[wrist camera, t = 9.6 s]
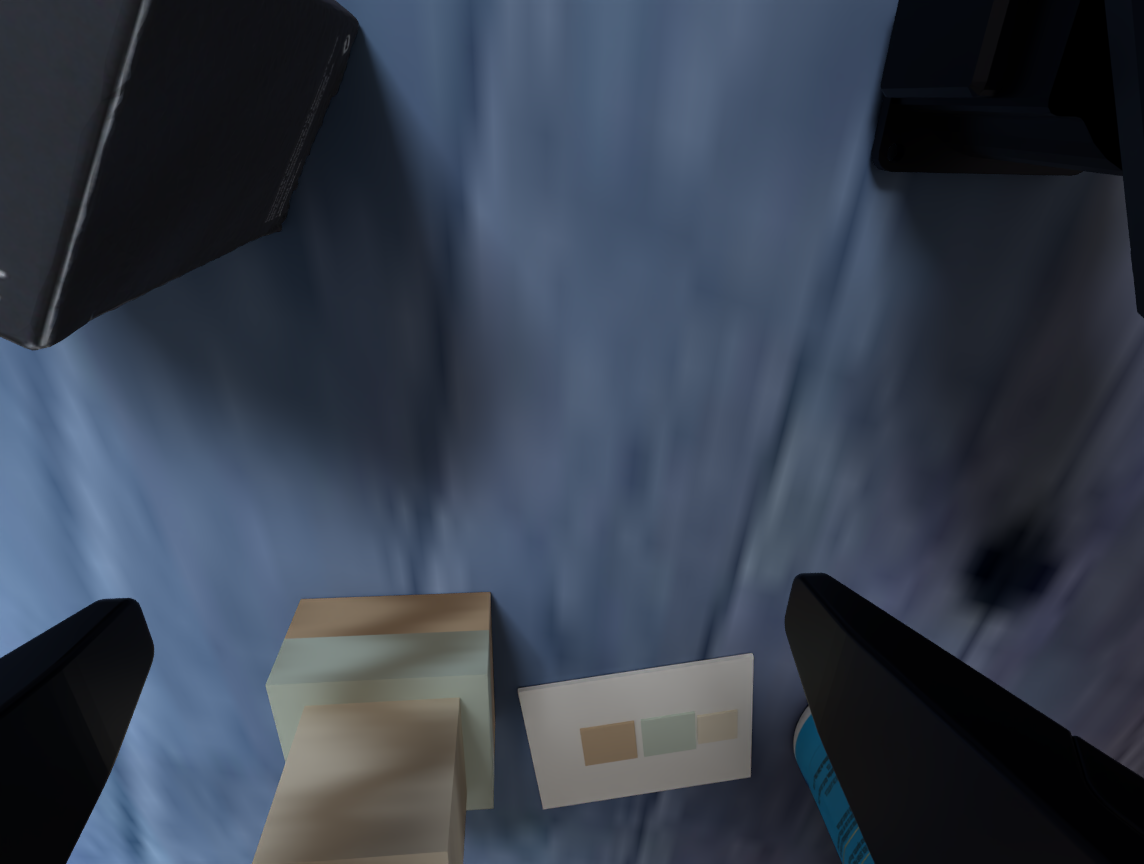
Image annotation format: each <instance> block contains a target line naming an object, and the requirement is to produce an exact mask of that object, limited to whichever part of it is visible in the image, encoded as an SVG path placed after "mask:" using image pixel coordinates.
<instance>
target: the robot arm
mask: <svg viewBox="0 0 1144 864" xmlns="http://www.w3.org/2000/svg"><path fill="white" fill-rule="evenodd" d="M881 89H882V91H883V94H884V97H883V102H882V107H881V111H880V116H879V120H878V125H877V130H876V134H875V139H874V143H873V148H872V161H873V164H874V165H875V166H876V167H877V168H878V169H881V170H885V171H890V172H927V173H973V174H1020V175H1066V176H1072V175H1077V174H1079V173H1081V172H1083V171H1087V172H1095V173H1103V174H1111V175H1119V176H1123V181H1124V191H1125V200H1126V210H1127V219H1128V229H1129V238H1130V248H1131V261H1132V271H1133V276H1134V286H1135V295H1136V305H1137V312H1138V313H1139V314H1140V315H1141V316H1142V317H1143V318H1144V0H899V2H898V7H897V11H896V16H895V21H894V25H893V30H892V35H891V39H890V44H889V49H888V53H887V58H886V63H885V67H884V72H883V77H882V81H881ZM894 143H895V144H896V146H897V153H896V155H895V157H894V158H893V159H892V160H890V161H889V160H888V158H887V151H888V149H889V147H890V146H892V145H893V144H894ZM785 631H786V635H787V638H788V641H789V644H790V648H791V651H792V654H793V657H794V660H795V663H796V667H797V670H798V673H799V676H800V679H801V683H802V686H803V689H804V692H805V695H806V698H807V702H808V705H809V708H810V711H811V714H812V717H813V720H814V723H815V726H816V729H817V732H818V734H819V737H820V739H821V742H822V744H823V747H824V749H825V751H826V754H827V756H828V758H829V760H830V763H831V765H832V767H833V770H834V772H835V774H836V776H837V779H838V781H839V783H840V786H841V788H842V790H843V793H844V795H845V797H846V799H847V802H848V804H849V806H850V809H851V811H852V813H853V815H854V818H855V820H856V822H857V825H858V827H859V829H860V831H861V834H862V836H863V838H864V841H865V843H866V845H867V848H868V850H869V852H870V854H871V857H872V859H873V861H874V864H1144V778H1143V777H1141V776H1139V775H1138V774H1136V773H1135V772H1133V771H1131V770H1130V769H1128V768H1127V767H1125V766H1124V765H1122V764H1120V763H1119V762H1117V761H1116V760H1114V759H1112V758H1111V757H1109V756H1108V755H1106V754H1105V753H1103V752H1101V751H1100V750H1098V749H1097V748H1095V747H1094V746H1092V745H1091V744H1089V743H1088V742H1086V741H1085V740H1083V739H1081V738H1080V737H1078V736H1072V735H1071V733H1070V731H1069V730H1067V729H1066V728H1064V727H1063V726H1061V725H1060V724H1058V723H1056V722H1055V721H1053V720H1052V719H1050V718H1049V717H1047V716H1046V715H1044V714H1043V713H1041V712H1039V711H1038V710H1036V709H1035V708H1033V707H1032V706H1030V705H1029V704H1027V703H1026V702H1024V701H1022V700H1021V699H1019V698H1018V697H1016V696H1015V695H1013V694H1012V693H1010V692H1009V691H1007V690H1005V689H1004V688H1002V687H1001V686H999V685H998V684H996V683H995V682H993V681H992V680H990V679H988V678H987V677H985V676H984V675H982V674H981V673H979V672H978V671H976V670H975V669H973V668H971V667H970V666H968V665H967V664H965V663H964V662H962V661H961V660H959V659H958V658H956V657H955V656H953V655H951V654H950V653H948V652H947V651H945V650H944V649H942V648H941V647H939V646H938V645H936V644H934V643H933V642H931V641H930V640H928V639H927V638H925V637H924V636H922V635H921V634H919V633H917V632H916V631H914V630H913V629H911V628H910V627H908V626H907V625H905V624H904V623H902V622H900V621H899V620H897V619H896V618H894V617H893V616H891V615H890V614H888V613H887V612H885V611H883V610H882V609H880V608H879V607H877V606H876V605H874V604H873V603H871V602H870V601H868V600H866V599H865V598H863V597H862V596H860V595H859V594H857V593H856V592H854V591H853V590H851V589H849V588H848V587H846V586H845V585H843V584H842V583H840V582H839V581H837V580H836V579H834V578H832V577H831V576H829V575H827V574H825V573H802V574H799V575H797V576H796V577H795V578H794V581H793V584H792V588H791V592H790V597H789V601H788V605H787V609H786V614H785ZM153 657H154V644H153V640H152V637H151V635H150V632H149V629H148V626H147V623H146V621H145V618H144V615H143V612H142V609H141V607H140V605H139V603H138V602H137V601H136V600H134V599H131V598H115V599H102V600H98V601H96V602H94V603H92V604H91V605H89V606H87V607H86V608H84V609H82V610H81V611H79V612H77V613H76V614H74V615H72V616H70V617H69V618H67V619H65V620H64V621H62V622H60V623H59V624H57V625H55V626H54V627H52V628H50V629H49V630H47V631H45V632H44V633H42V634H40V635H39V636H37V637H35V638H33V639H32V640H30V641H28V642H27V643H25V644H23V645H22V646H20V647H18V648H17V649H15V650H13V651H12V652H10V653H8V654H7V655H5V656H3V657H1V658H0V864H66V863H67V861H68V859H69V857H70V855H71V853H72V851H73V849H74V847H75V845H76V843H77V841H78V839H79V837H80V835H81V833H82V831H83V829H84V827H85V825H86V823H87V821H88V819H89V817H90V814H91V812H92V810H93V808H94V806H95V804H96V802H97V800H98V798H99V796H100V794H101V792H102V790H103V788H104V786H105V784H106V782H107V779H108V777H109V775H110V773H111V770H112V768H113V765H114V763H115V761H116V758H117V756H118V753H119V750H120V748H121V745H122V742H123V740H124V737H125V734H126V732H127V729H128V726H129V724H130V721H131V718H132V716H133V713H134V710H135V708H136V705H137V702H138V700H139V697H140V694H141V692H142V689H143V686H144V684H145V681H146V678H147V676H148V673H149V670H150V667H151V665H152V662H153Z"/></svg>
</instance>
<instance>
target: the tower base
mask: <svg viewBox="0 0 1144 864" xmlns="http://www.w3.org/2000/svg"><path fill="white" fill-rule="evenodd" d="M266 689H267V693H268V697H269V701H270V705H271V708H272V712H273V716H274V720H275V724H276V728H277V731H278V735H279V739H280V743H281V747H282V751H283V754H284V758H285V762H286V760H287V757H288V754H289V751H290V748H291V745H292V742H293V739H294V736H295V733H296V730H297V727H298V724H299V721H300V718H301V715H302V712H303V709H304V706H311V705H330V704H348V703H367V702H385V701H403V700H422V699H440V698H459V697H460V708H461V721H462V734H463V747H464V760H465V773H466V786H467V803H466V810H479V809H493V804H494V753H495V701H494V675H493V648H492V622H491V596H490V592H479V593H453V594H426V595H399V596H373V597H346V598H320V599H301V600H300V602H299V605H298V607H297V610H296V612H295V615H294V617H293V619H292V622H291V624H290V627H289V629H288V632H287V634H286V636H285V639H284V641H283V644H282V646H281V649H280V651H279V653H278V656H277V658H276V661H275V663H274V666H273V668H272V670H271V673H270V675H269V678H268V680H267V683H266Z"/></svg>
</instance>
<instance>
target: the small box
mask: <svg viewBox="0 0 1144 864" xmlns="http://www.w3.org/2000/svg"><path fill="white" fill-rule="evenodd" d="M358 25H359V23H358V21H357V19H356V18H355V17H354V16H353V15H352V14H351V13H350V12H349V11H347V10H346V9H345V8H344V7H343V6H341V5H340V4H339V3H338V2H336V1H335V0H0V337H2V338H4V339H6V340H9V341H11V342H13V343H15V344H18V345H20V346H22V347H24V348H27V349H30V350H38V349H42V348H47V347H51V346H52V345H54V344H56V343H58V342H60V341H62V340H63V339H65V338H66V337H68V336H69V335H71V334H72V333H73V332H75V331H76V330H78V329H79V328H81V327H82V326H84V325H85V324H86V323H87V322H89V321H90V320H92V319H94V318H96V317H98V316H100V315H102V314H104V313H106V312H108V311H111V310H114V309H116V308H118V307H120V306H121V305H123V304H125V303H127V302H129V301H131V300H134V299H136V298H138V297H139V296H142V295H144V294H146V293H147V292H149V291H151V290H152V289H154V288H157V287H159V286H162V285H164V284H166V283H168V282H169V281H171V280H173V279H176V278H178V277H180V276H182V275H184V274H185V273H187V272H190V271H192V270H193V269H195V268H197V267H200V266H203V265H205V264H206V263H208V262H210V261H212V260H215V259H216V258H219V257H221V256H223V255H225V254H227V253H229V252H231V251H233V250H235V249H236V248H238V247H240V246H243V245H244V244H246V243H248V242H250V241H253V240H255V239H258V238H260V237H262V236H266V235H270V234H272V233H275V232H280V231H282V223H283V222H284V221H285V219H286V217H287V213H288V209H289V207H290V206H289V201H290V198H291V195H292V193H293V191H294V190H296V189H297V187H298V178H299V176H300V175H301V172H302V169H303V166H304V164H305V161H306V158H307V156H308V155H310V149H311V145H312V143H313V142H314V139H315V136H316V134H317V131H318V130H319V128H320V127H321V126H322V124H323V118H324V115H325V112H326V110H327V108H328V107H329V103H330V100H331V98H332V97H334V96H335V95H336V94H337V92H338V90H339V85H340V83H341V81H342V78H343V73H344V71H345V69H346V66H347V61H348V58H349V55H350V50H351V46H352V44H353V42H354V40H355V37H356V35H357V32H358Z"/></svg>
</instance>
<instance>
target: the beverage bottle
mask: <svg viewBox="0 0 1144 864" xmlns="http://www.w3.org/2000/svg"><path fill="white" fill-rule="evenodd" d="M793 746H794V754H795V758H796V761H797V764H798V766H799V768H800V771H801V773H802V775H803V777H804V779H805V781H806V783H807V785H808V787H809V788H810V791H811V793H812V795H813V797H814V800H815V802H816V804H817V806H818V809H819V811H820V813H821V815H822V818H823V820H824V822H825V825H826V827H827V829H828V832H829V834H830V836H831V838H832V841H833V843H834V845H835V848H836V850H837V852H838V855H839V857H840V859H841V862H842V864H874V861H873V859H872V857H871V854H870V852H869V850H868V848H867V845H866V843H865V841H864V838H863V836H862V834H861V831H860V829H859V827H858V825H857V822H856V820H855V818H854V815H853V813H852V811H851V809H850V806H849V804H848V802H847V799H846V797H845V795H844V793H843V790H842V788H841V786H840V783H839V781H838V779H837V776H836V774H835V772H834V770H833V767H832V765H831V763H830V760H829V758H828V756H827V754H826V751H825V749H824V747H823V744H822V742H821V739H820V737H819V734H818V732H817V729H816V726H815V723H814V720H813V717H812V714H811V711H810V708H809V706H808V707H807V708H806V709H805V711H804V712H803V714H802V716H801V717H800V719H799V721H798V724H797V726H796V730H795V734H794V742H793Z"/></svg>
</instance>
